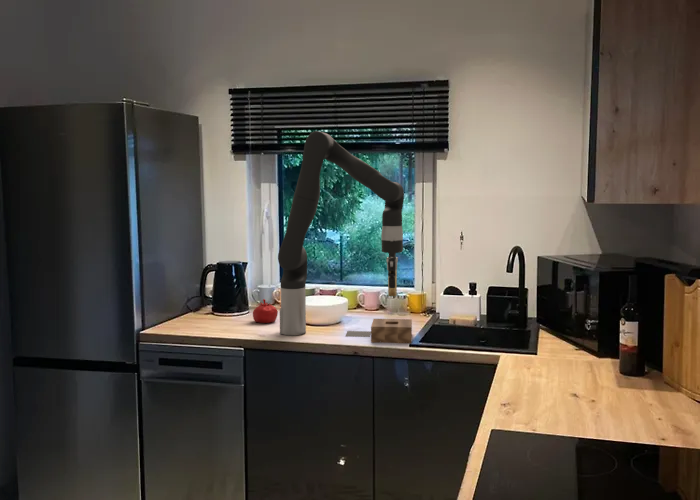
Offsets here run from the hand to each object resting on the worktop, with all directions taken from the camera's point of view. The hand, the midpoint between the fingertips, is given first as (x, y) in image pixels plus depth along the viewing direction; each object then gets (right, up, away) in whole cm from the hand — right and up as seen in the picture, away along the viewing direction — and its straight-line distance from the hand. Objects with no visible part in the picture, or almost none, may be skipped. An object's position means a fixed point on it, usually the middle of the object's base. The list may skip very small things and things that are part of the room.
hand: (392, 286), depth 237 cm
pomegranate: (-49, -16, +33) cm, 61 cm away
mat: (-12, -18, +9) cm, 23 cm away
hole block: (0, -19, +2) cm, 19 cm away
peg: (0, -3, 0) cm, 3 cm away
